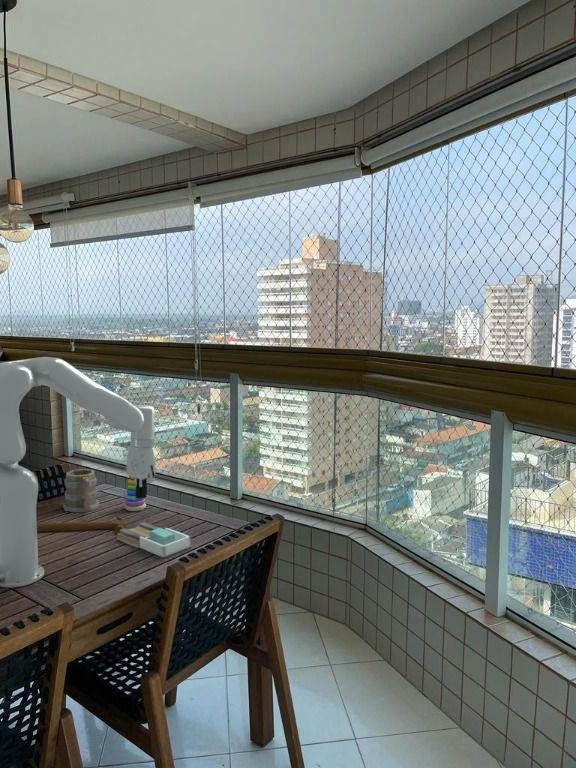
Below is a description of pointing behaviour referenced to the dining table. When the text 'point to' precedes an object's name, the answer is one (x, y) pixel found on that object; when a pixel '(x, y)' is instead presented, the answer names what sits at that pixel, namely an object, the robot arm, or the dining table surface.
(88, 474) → the tankard
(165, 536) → the light teal cube
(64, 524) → the hammer
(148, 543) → the tray
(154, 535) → the teal cube block
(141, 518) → the dining table surface
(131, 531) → the slot board
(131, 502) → the stacking toy
